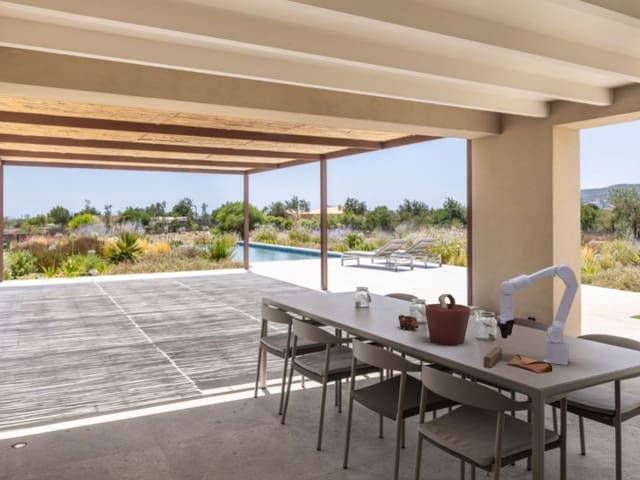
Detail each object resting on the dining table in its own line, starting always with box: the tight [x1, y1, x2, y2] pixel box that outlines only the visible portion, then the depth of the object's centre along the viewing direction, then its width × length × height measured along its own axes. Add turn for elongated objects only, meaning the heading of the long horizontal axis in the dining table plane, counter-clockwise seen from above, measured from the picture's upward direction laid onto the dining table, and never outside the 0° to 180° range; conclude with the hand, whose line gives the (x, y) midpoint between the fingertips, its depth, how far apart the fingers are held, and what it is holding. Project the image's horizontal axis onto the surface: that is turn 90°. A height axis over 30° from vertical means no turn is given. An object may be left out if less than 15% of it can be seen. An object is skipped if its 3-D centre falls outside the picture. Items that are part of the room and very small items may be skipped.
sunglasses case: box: [505, 354, 553, 375], centre depth 222 cm, size 18×7×7 cm, turn 33°
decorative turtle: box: [398, 314, 420, 331], centre depth 302 cm, size 10×15×8 cm, turn 41°
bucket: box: [425, 293, 471, 347], centre depth 269 cm, size 24×22×25 cm
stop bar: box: [483, 346, 503, 369], centre depth 230 cm, size 3×20×4 cm, turn 148°
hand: (506, 336), depth 239 cm, fingers open, 7 cm apart
